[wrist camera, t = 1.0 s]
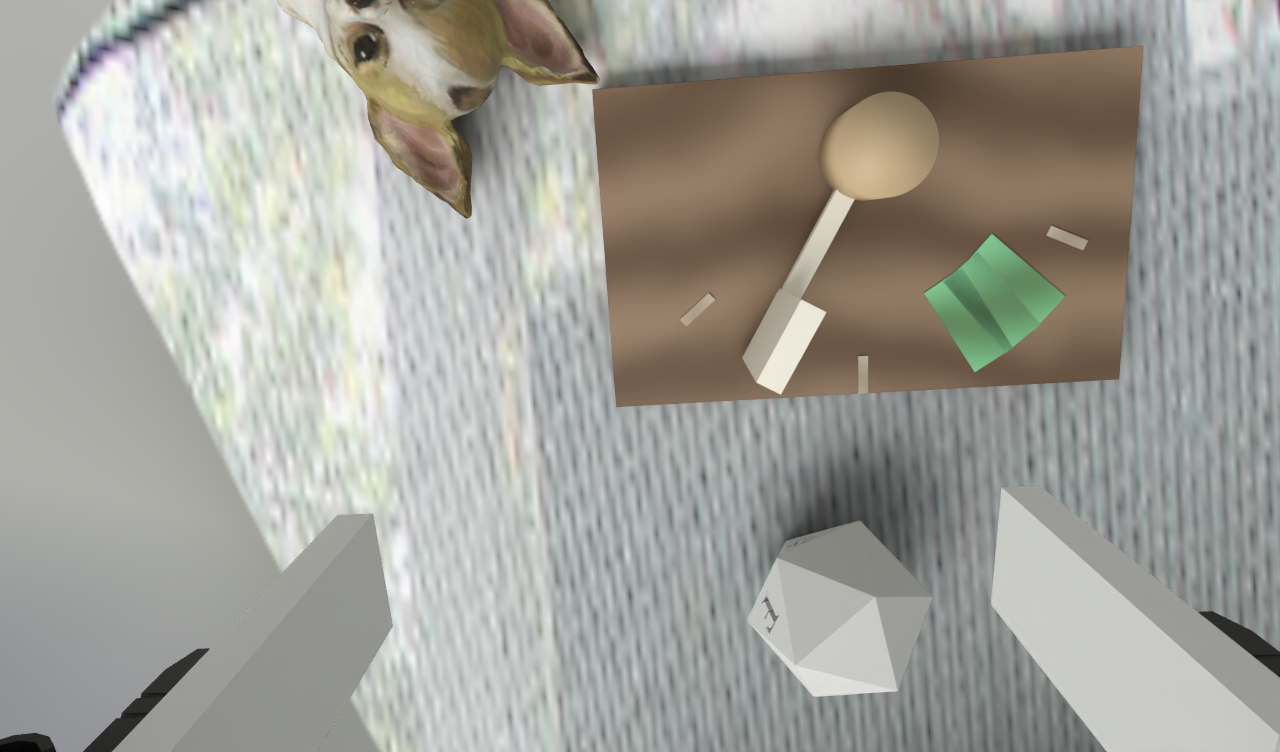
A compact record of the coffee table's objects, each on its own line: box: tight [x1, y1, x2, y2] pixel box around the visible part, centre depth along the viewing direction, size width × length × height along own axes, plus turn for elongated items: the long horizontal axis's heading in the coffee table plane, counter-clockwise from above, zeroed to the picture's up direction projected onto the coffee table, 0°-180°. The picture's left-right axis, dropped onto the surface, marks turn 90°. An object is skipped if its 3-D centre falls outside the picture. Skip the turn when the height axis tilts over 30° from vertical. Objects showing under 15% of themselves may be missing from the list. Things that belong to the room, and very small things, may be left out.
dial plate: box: [592, 46, 1143, 407], centre depth 36 cm, size 16×26×2 cm, turn 94°
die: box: [747, 520, 933, 697], centre depth 37 cm, size 8×9×10 cm
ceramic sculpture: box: [277, 0, 600, 218], centre depth 32 cm, size 11×9×15 cm
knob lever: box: [742, 92, 939, 394], centre depth 32 cm, size 14×4×6 cm, turn 154°
